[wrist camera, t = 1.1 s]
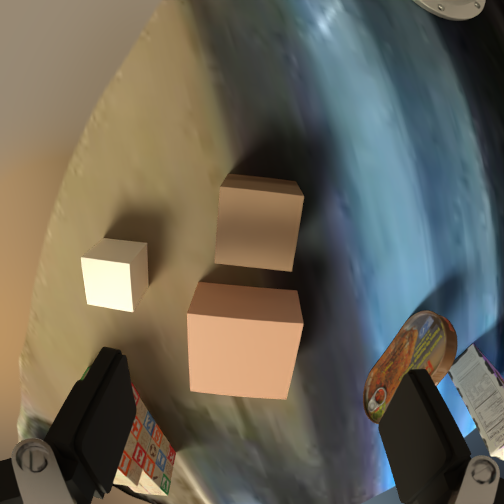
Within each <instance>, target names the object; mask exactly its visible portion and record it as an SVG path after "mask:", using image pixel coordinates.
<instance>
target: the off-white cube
mask: <svg viewBox="0 0 504 504" xmlns="http://www.w3.org/2000/svg"><path fill="white" fill-rule="evenodd" d="M81 262H82V270H83V278H84V285H85V291H86V298H87V304H91V305H96V306H101V307H107V308H112V309H118V310H123V311H129V312H134V310H135V309H136V307H137V305H138V304H139V302H140V300H141V299H142V297H143V295H144V294H145V292H146V290H147V289H148V287H149V283H148V256H147V243H143V242H134V241H126V240H117V239H108V238H103V239H101V240H100V241H99V242H98V243H97V244H96V245H94V246H93V247H92V248H91V249H90V250H89V251H87V252H86V253H85V254H84V255H83V256H82V257H81Z"/></svg>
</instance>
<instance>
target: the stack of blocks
mask: <svg viewBox="0 0 504 504" xmlns="http://www.w3.org/2000/svg"><path fill="white" fill-rule="evenodd" d="M89 369H90V367H88V368H87V370H86V371H85V373H84V374H83V376H82V378H81V379H80V380H84V378H85V376H86V374H87V373H88V371H89ZM131 384H132V382H131ZM132 389H133V394H134V399H135V403H136V408H137V411H136V417H135V420H134V423H133V425H132V428H131V431H130V434H129V437H128V440H127V443H126V446H125V449H124V451H123V454H122V457H121V460H120V463H119V466H118V470H117V473H116V476H115V479H114V482H113V483H114V484H121V485H127V486H129V487H130V488H131V489H132V490H133V491H134V492H137V493H145V494H155V495H165V496H168V493H169V488H170V483H171V481H170V480H171V475H172V471H173V464H174V460H175V455H176V452H175V451H174V449H173V448H172V447H171V445H170V443H169V441H168V440H167V438H166V437H165V436H164V434H163V433H162V431H161V429H160V428H159V426H158V425H157V423H155V421H154V419H153V418H152V416H151V414H150V413H149V411H148V410H147V408H146V407H145V405H144V403H143V402H142V400H141V398H140V396H139V394H138V392H137V391H136V389H135V387H134V385H133V384H132Z"/></svg>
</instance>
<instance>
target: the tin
mask: <svg viewBox="0 0 504 504" xmlns="http://www.w3.org/2000/svg"><path fill="white" fill-rule="evenodd" d="M456 352H457V335H456V332H455V329H454V327H453V325H452V324H451V322H450V321H449V320H448V319H446V318H445V317H443V316H441V315H438V314H436V313H435V312H433V311H428V310H424V311H420V312H417V313H415V314H414V315H412V316H411V317H410V318H409V319H408V320H407V321H406V322H405V324H404V325H403V326H402V328H401V329H400V331H399V332H398V334H397V335H396V337H395V338H394V340H393V341H392V343H391V344H390V345H389V347H388V348H387V350H386V351H385V352H384V354H383V355H382V356H381V358H380V359H379V360H378V362H377V363H376V364H375V366H374V367H373V368H372V370H371V371H370V373H369V375H368V378H367V380H366V383H365V387H364V392H363V405H364V410H365V413H366V415H367V417H368V418H369V419H370V420H371V421H372V422H374V423H376V424H379V422H380V420H381V418H382V416H383V414H384V413H385V411H386V409H387V407H388V405H389V403H390V401H391V400H392V398H393V396H394V394H395V392H396V390H397V388H398V386H399V384H400V382H401V380H402V378H403V376H404V375H405V374H407V373H408V371H409V370H411V369H426V370H427V371H428V373H429V375H430V376H431V378H432V380H433V382H434V383H435V385H436V386H437V385H438V384H439V382H440V381H441V380H442V379H443V378H444V376H445V375H446V374H447V373H448V371H449V370H450V368H451V366H452V364H453V362H454V359H455V356H456Z"/></svg>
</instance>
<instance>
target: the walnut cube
mask: <svg viewBox="0 0 504 504" xmlns="http://www.w3.org/2000/svg"><path fill="white" fill-rule="evenodd" d="M303 201H304V195H303V193H302V191H301V190H300V188H299V186H298V184H297V183H296V181H290V180H282V179H274V178H266V177H257V176H248V175H238V174H228V175H227V177H226V178H225V180H224V181H223V183H222V185H221V186H220V195H219V208H218V220H217V234H216V248H215V262H214V263H218V264H227V265H236V266H245V267H254V268H263V269H272V270H282V271H291V272H292V267H293V261H294V255H295V249H296V244H297V238H298V232H299V226H300V219H301V213H302V207H303Z"/></svg>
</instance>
